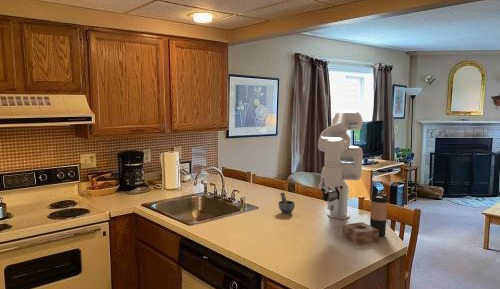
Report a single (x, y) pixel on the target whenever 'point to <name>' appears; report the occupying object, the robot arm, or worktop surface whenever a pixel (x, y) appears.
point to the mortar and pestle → (286, 205)
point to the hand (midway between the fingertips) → (331, 199)
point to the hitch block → (360, 233)
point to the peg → (331, 199)
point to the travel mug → (379, 213)
